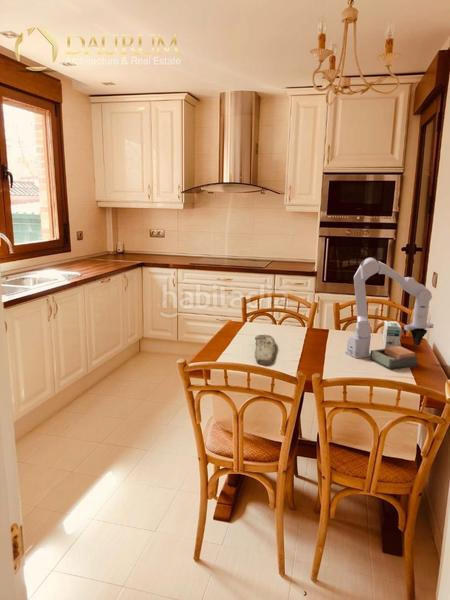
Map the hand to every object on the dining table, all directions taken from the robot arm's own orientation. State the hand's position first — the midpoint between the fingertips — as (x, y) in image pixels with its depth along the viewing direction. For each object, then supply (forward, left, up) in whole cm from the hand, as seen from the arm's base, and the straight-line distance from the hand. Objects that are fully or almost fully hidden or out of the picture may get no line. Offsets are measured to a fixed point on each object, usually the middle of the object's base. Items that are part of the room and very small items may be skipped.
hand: (416, 344), depth 189 cm
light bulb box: (+5, +21, -8) cm, 23 cm away
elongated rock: (-60, +29, -8) cm, 67 cm away
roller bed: (-12, 0, -7) cm, 14 cm away
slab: (-9, 0, -4) cm, 10 cm away
